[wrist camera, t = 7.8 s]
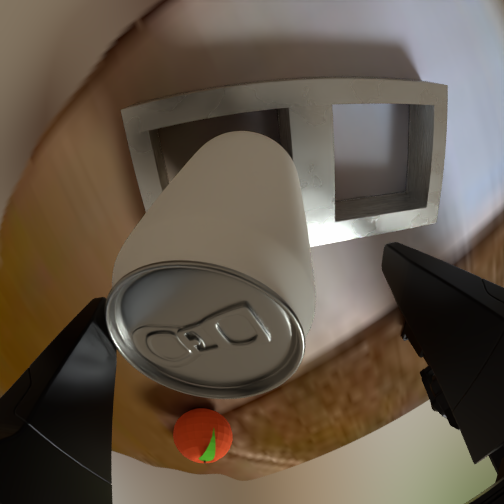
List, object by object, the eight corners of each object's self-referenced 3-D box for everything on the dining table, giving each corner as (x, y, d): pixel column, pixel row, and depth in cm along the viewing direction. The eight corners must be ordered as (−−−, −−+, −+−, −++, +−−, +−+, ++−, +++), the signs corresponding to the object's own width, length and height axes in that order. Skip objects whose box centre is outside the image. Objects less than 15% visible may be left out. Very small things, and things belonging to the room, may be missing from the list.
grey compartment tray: (421, 80, 18) (447, 85, 15) (415, 206, 24) (436, 223, 21) (132, 104, 17) (120, 110, 14) (168, 249, 22) (164, 273, 20)
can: (169, 160, 18) (51, 294, 8) (268, 109, 16) (251, 196, 6) (222, 245, 21) (178, 413, 11) (315, 207, 19) (349, 381, 9)
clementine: (180, 389, 32) (181, 446, 26) (239, 396, 34) (248, 449, 28) (168, 420, 35) (169, 469, 29) (220, 425, 37) (226, 472, 31)
